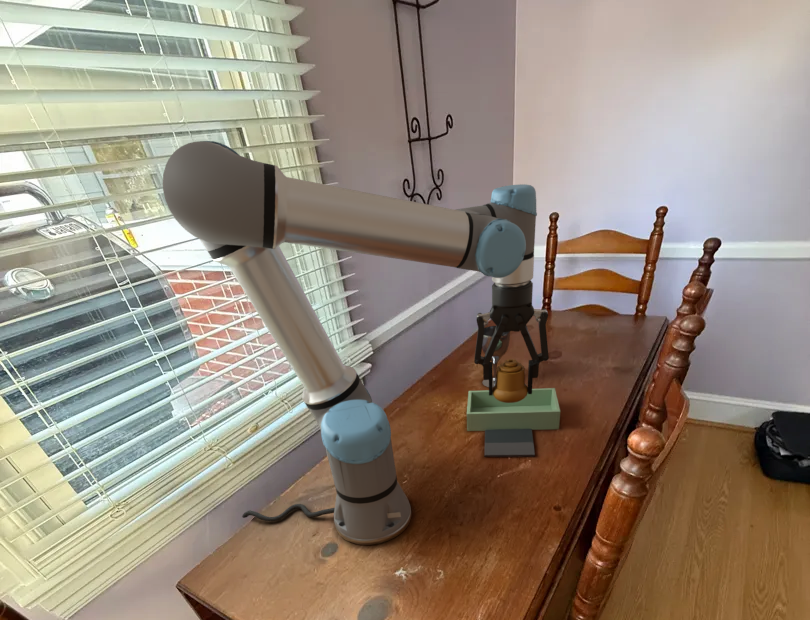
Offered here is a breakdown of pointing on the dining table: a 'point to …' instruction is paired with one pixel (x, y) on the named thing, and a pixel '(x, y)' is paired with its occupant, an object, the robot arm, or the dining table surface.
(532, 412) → the tote
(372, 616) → the dining table surface
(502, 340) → the metal goblet
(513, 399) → the ornamental finial
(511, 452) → the slate tile
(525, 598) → the dining table surface
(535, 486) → the dining table surface
